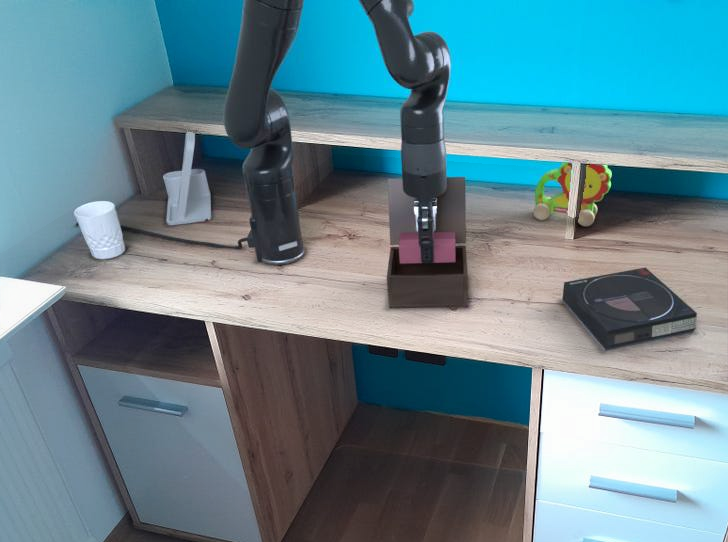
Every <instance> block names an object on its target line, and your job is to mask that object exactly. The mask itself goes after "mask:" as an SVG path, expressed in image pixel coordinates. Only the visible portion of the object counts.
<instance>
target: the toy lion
mask: <svg viewBox="0 0 728 542" xmlns="http://www.w3.org/2000/svg"><path fill="white" fill-rule="evenodd" d="M571 170H572V164H571V163H563V162H562V163H561V165H560V166H559V168H554V169H551V170H549V171H547V172H545V173H544V174H542V176H541V177H540V179H539V181H538V183H537V185H536V187H535V195H534V205H535V206H534V208H533V216H534V217H535V218H536V219H537V220H539V221H545V220H548V218H549V216H550V215H552V214H557V213H559V214H566V215H568V214H567V211H568V202H569V192H570V182H571ZM612 173H613V172H612V170H611V169H610V168H609V167H608V164H607V165H594V164H590V165H587V166H586V179H585V184H584V192H583V199H582V204H581V210H580V213H579V219H578V221H577V223H578V224H579V225H580V226H582V227H591V226H592V225H593V223H594V221H595V219H596V215H597V213H598V206H597V204H596V203H597V202H600V201H602V200H603V198H604V196H605V195H606V194H608V193H609V191H610V189H611V186H612V181H611V179H612V176H613V174H612ZM550 181H555V182H556V183H558V184H559V185H560V186H561V188H562V192H560V193H557V194H555V195H554V196H552V197H550V196H548V195H545V185H546V183H548V182H550ZM595 202H596V203H595Z"/></svg>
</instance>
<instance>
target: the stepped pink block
mask: <svg viewBox="0 0 728 542" xmlns="http://www.w3.org/2000/svg"><path fill="white" fill-rule="evenodd" d="M422 238H430V237H429V236H422ZM433 240H434V244H433V258H434V260H433V263H447V262H455V246H456V244H455V232H433ZM418 241H419V236H418V233H400V236H399V245H398V247H399V258H400V264H406V263H422V262H421V248H420V246H419V244H418Z"/></svg>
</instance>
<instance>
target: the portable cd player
mask: <svg viewBox="0 0 728 542" xmlns="http://www.w3.org/2000/svg"><path fill="white" fill-rule="evenodd" d="M561 299H562V301H561V302H562V303H563V304H564V305H565V306H566V308H567V309H568V310H569V311H570V312H571V313H572V314H573V315H574V317H575V318H576V319H577V321H578V322H579V323H580V324H581V325H582V326H583V327H584V329H585V330H586V331H587V333H589V334H590V336H591V337H592V338H593V339H594V340H595V341H596V342H597V344H598V345H599V347H601V349H603V351H604V352H606V351H611V350H616V349H621V348H626V347H631V346H637V345H640V344H644V343H650V342H655V341H660V340H664V339H669V338H673V337H674V338H675V337H678V336H683V335H688V334H693V332H695V330H696V329H697V317H698V316H697V315H698V313H697V311H695V310H694V309H693V308H692V307H691V306H690V305H688V304H687V303H686V302H685V301H684V300H683V299H682V298H681V297H679V296H678V295H677V294H676V293H675V292H674V291H673V290H672V289H671V288H669V287H668V286H667V285H666V284H665V283H664V282H663V281H662V280H660V278H658V277H657V276H656V275H655V274H654V273H653V272H652V271H650V269H648V268H647V267H639V268H634V269H629V270H625V271H623V270H622V271H617V272H612V273H607V274H603V275H597V276H591V277H585V278H580V279H575V280H574V279H573V280H568V281H565V282H563V289H562V298H561Z"/></svg>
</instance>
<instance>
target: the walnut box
mask: <svg viewBox="0 0 728 542" xmlns="http://www.w3.org/2000/svg"><path fill="white" fill-rule="evenodd" d="M386 271H387V272H386V284H387V285H386V286H387V287H386V288H387V298H388V308H389V310H390V309H429V308H430V309H436V308H437V309H438V308H439V309H441V308H442V309H443V308H468V305H469V303H468V302H469V300H468V299H469V298H468V296H469V288H468V287H469V285H468V283H469V278H468V277H469V275H468V274H469V273H468V258H467V245H455V262H447V263H406V264H400V258H399V246H390V248H389V257H388V264H387V270H386Z"/></svg>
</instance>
